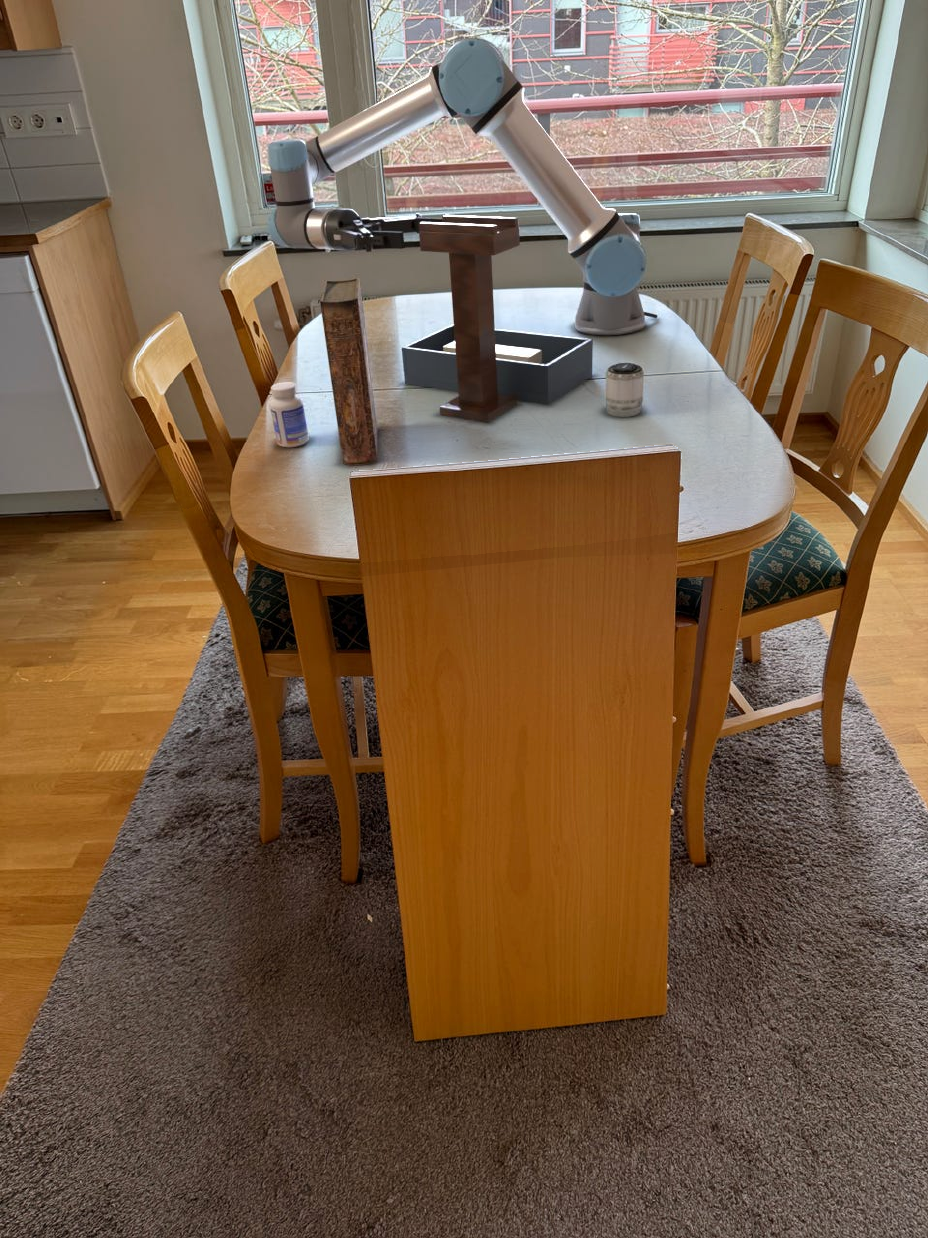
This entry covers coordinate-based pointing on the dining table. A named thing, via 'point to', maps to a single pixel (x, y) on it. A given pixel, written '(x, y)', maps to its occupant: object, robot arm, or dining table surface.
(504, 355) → the carton
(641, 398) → the camera lens
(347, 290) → the book
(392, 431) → the dining table surface
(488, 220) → the stand
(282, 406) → the pill bottle
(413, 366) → the bin
